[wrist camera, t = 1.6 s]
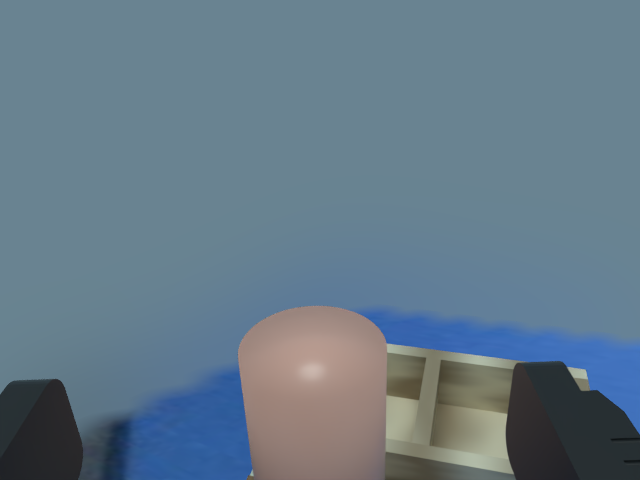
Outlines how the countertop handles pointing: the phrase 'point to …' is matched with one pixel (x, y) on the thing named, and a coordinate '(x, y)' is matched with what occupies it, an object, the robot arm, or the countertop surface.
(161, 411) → the countertop surface
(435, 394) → the caddy
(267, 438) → the pink cylinder
